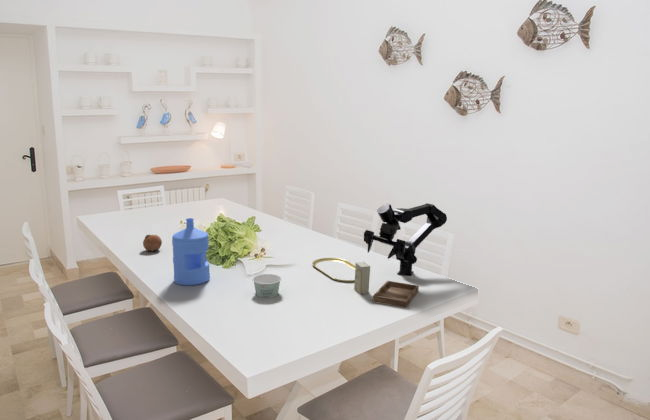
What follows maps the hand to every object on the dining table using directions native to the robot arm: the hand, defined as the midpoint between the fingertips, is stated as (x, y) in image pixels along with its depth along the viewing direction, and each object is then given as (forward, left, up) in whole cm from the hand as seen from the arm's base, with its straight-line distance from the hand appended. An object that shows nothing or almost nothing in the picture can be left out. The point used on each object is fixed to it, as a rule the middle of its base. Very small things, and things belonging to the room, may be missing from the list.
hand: (377, 255), depth 217 cm
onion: (+1, -125, -15) cm, 125 cm away
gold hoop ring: (-14, -24, -16) cm, 32 cm away
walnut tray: (+6, +10, -15) cm, 19 cm away
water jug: (+28, -78, -15) cm, 84 cm away
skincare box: (+7, -5, -15) cm, 17 cm away
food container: (+27, -40, -15) cm, 50 cm away
